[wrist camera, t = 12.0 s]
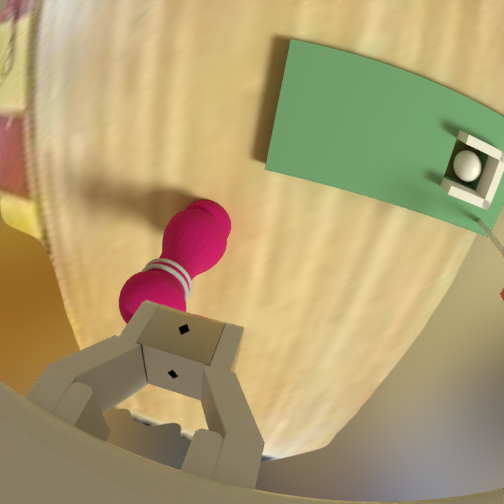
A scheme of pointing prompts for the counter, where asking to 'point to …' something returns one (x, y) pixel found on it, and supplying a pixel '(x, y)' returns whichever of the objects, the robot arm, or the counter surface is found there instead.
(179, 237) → the pepper mill
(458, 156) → the ball
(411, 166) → the green
